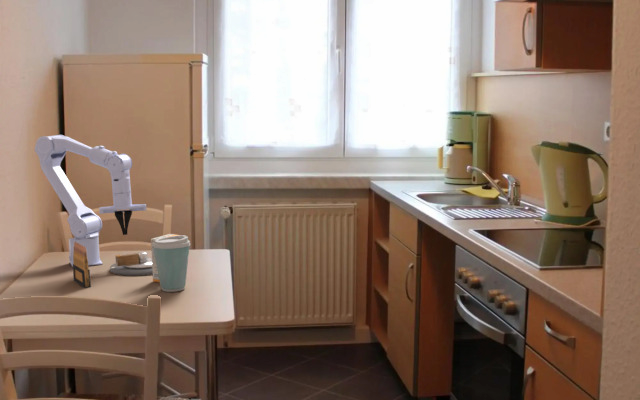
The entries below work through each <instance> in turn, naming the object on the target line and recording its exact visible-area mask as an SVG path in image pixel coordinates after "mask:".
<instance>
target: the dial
mask: <svg viewBox="0 0 640 400" xmlns="http://www.w3.org/2000/svg"><path fill="white" fill-rule="evenodd" d="M115 263H116V266H124V267H125V268H130V269H146V268H152V257H148V252H147V251H140V252H137V253H135V252H134V253H128V254H121V255H120V254H116V255H115Z"/></svg>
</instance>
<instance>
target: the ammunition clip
mask: <svg viewBox="0 0 640 400" xmlns="http://www.w3.org/2000/svg"><path fill="white" fill-rule="evenodd" d="M73 261H74V264H73V267H72V273H73V275H72V276H73V277H72V278H73V282H75V283H76V284H78V285H79V286H81V287H82V288H84V289H86V288H91V287H92V284H91V273H90V272H91V271H90V269H89V265H88V259H87V251H86V248H85V246H84V247H83V245H81V244H79V243H76V241H75V242H74V254H73Z"/></svg>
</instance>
